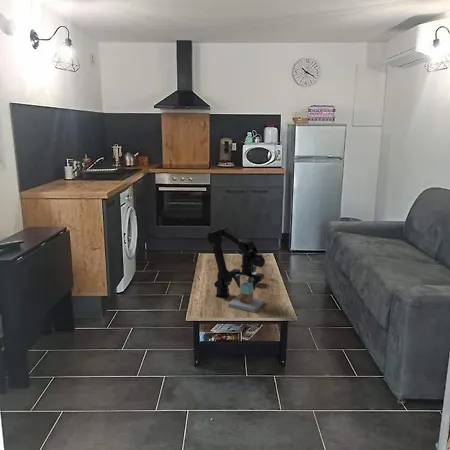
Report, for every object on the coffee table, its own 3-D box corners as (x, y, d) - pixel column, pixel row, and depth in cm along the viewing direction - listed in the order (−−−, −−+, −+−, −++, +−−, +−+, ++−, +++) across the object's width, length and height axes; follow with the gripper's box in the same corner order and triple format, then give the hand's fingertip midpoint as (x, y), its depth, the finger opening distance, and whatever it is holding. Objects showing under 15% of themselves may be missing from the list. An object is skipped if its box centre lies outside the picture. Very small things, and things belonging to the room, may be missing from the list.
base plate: (228, 306, 248) (228, 303, 247) (239, 297, 260) (239, 294, 259) (254, 312, 241) (254, 309, 240) (264, 302, 253) (264, 299, 252)
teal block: (240, 293, 247) (240, 284, 246) (244, 290, 252) (244, 281, 250) (248, 294, 245) (248, 286, 244) (252, 291, 249) (252, 283, 248)
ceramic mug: (261, 282, 282) (261, 271, 281) (259, 287, 275) (259, 275, 273) (245, 281, 285) (245, 270, 283) (242, 285, 278) (242, 274, 276)
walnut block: (240, 302, 249) (240, 293, 247) (244, 298, 253) (244, 289, 252) (248, 304, 246) (249, 295, 245) (252, 300, 251) (253, 291, 250)
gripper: (268, 261, 247) (267, 287, 251) (238, 256, 255) (237, 281, 259) (260, 267, 237) (259, 294, 241) (229, 261, 245) (229, 288, 249)
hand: (246, 289), depth 248 cm, fingers open, 9 cm apart
